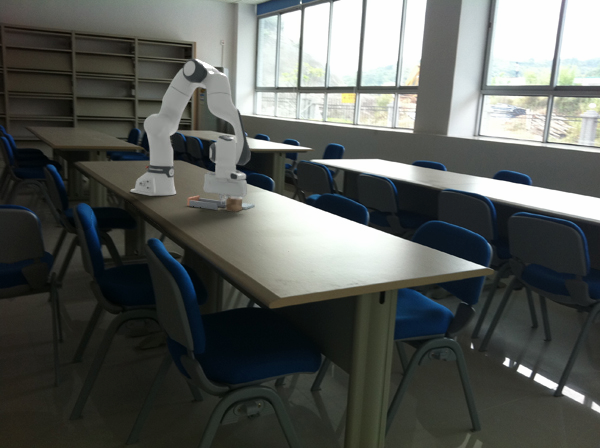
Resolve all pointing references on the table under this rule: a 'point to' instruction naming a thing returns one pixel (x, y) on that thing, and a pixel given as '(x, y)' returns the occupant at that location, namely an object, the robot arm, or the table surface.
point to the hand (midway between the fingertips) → (224, 204)
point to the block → (234, 204)
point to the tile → (247, 206)
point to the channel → (204, 203)
